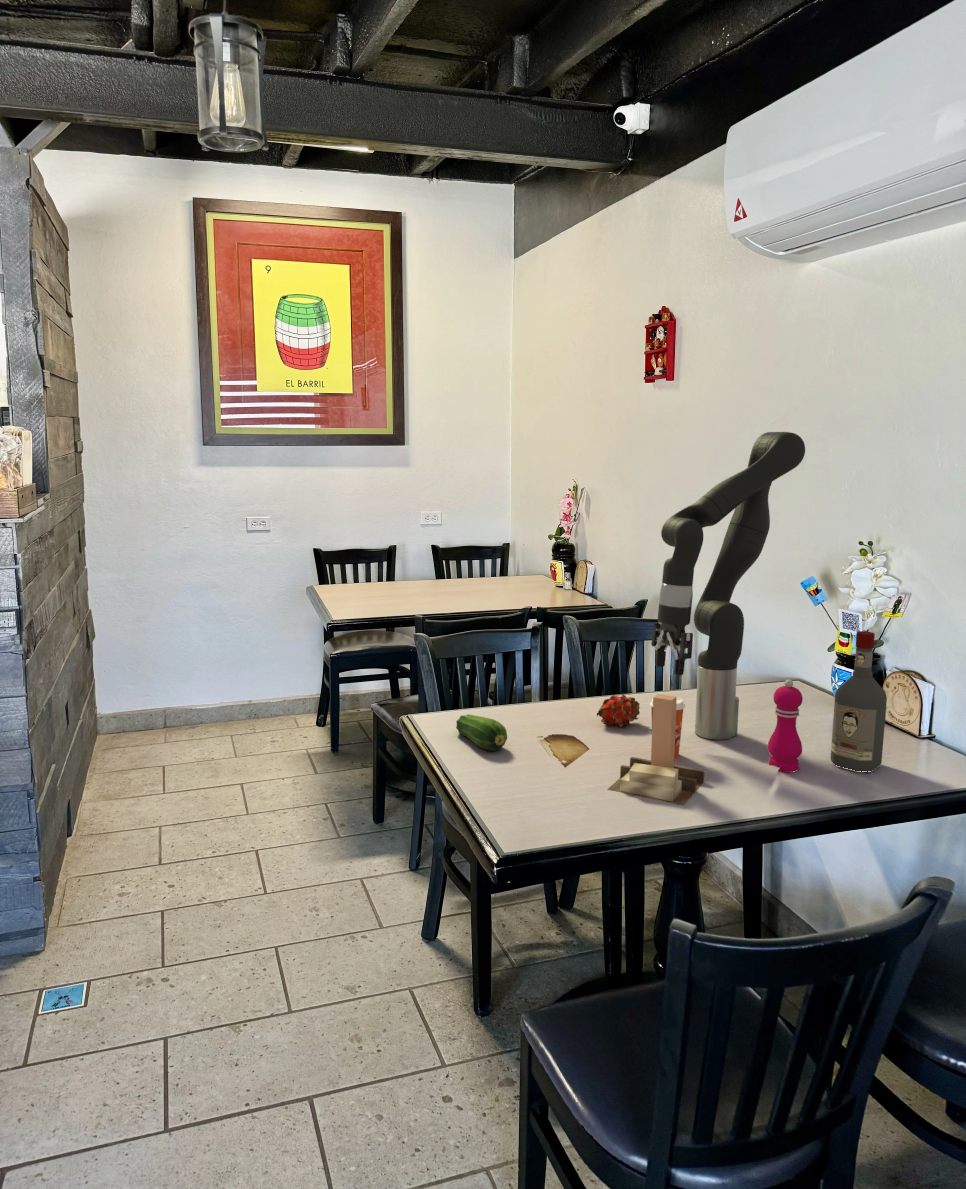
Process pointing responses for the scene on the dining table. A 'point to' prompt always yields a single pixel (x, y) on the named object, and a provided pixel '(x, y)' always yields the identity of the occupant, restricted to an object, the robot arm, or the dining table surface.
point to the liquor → (859, 713)
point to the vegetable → (482, 731)
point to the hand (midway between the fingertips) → (668, 670)
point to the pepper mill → (786, 729)
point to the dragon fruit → (619, 710)
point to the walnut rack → (687, 775)
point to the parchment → (564, 747)
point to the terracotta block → (663, 730)
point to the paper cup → (678, 726)
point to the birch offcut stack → (652, 781)
